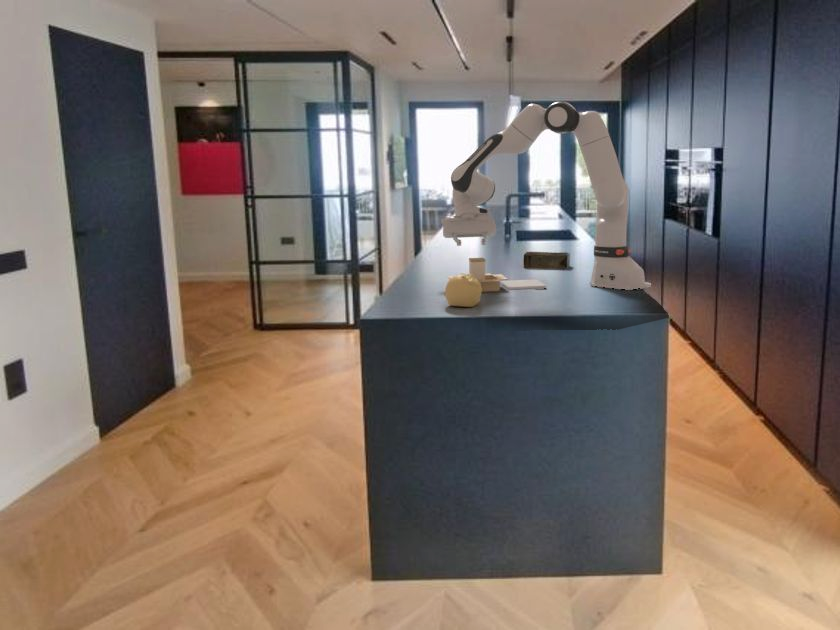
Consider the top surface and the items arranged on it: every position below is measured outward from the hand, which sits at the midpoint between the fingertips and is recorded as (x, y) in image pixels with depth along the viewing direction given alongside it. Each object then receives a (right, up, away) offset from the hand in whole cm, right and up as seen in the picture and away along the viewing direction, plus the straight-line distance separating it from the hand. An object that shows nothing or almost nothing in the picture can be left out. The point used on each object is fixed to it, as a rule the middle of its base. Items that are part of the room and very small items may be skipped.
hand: (471, 244), depth 281 cm
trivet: (+19, -16, -3) cm, 25 cm away
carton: (+2, -17, -8) cm, 19 cm away
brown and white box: (+2, -17, -8) cm, 19 cm away
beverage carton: (+35, -6, +43) cm, 56 cm away
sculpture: (-5, -24, -35) cm, 43 cm away
